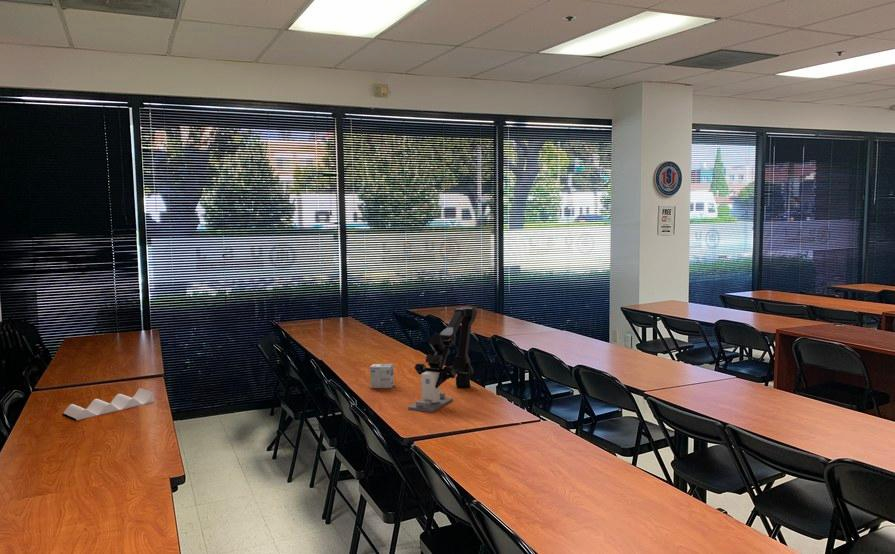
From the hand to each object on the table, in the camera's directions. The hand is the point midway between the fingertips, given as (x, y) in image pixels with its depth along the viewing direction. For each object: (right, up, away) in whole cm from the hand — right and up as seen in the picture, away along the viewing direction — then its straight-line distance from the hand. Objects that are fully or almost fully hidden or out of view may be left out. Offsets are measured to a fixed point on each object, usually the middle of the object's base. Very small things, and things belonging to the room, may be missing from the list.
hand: (429, 386), depth 297 cm
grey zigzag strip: (-144, -11, +3) cm, 144 cm away
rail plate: (+1, -8, +2) cm, 8 cm away
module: (+1, -6, +2) cm, 7 cm away
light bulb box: (-24, -6, +34) cm, 42 cm away
